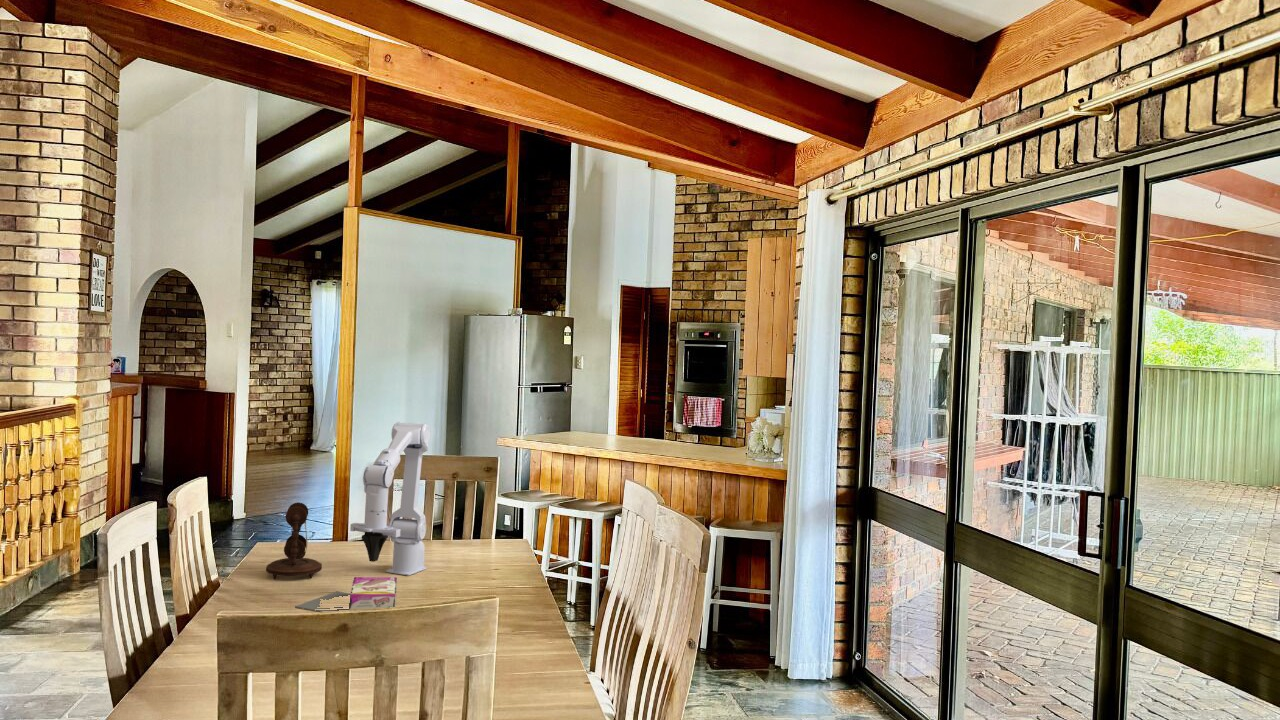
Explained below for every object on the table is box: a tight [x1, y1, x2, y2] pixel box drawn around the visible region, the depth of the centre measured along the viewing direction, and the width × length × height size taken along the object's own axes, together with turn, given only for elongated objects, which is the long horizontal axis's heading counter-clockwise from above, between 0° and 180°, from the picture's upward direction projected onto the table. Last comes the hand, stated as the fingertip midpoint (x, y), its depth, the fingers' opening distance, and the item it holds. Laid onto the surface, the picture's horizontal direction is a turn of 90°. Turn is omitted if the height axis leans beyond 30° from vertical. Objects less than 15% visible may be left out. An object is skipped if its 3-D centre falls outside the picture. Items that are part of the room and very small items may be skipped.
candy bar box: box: [349, 576, 398, 610], centre depth 228 cm, size 11×5×16 cm
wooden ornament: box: [265, 502, 323, 580], centre depth 252 cm, size 15×15×20 cm
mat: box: [294, 590, 351, 613], centre depth 226 cm, size 16×17×1 cm
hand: (373, 560), depth 237 cm, fingers closed
